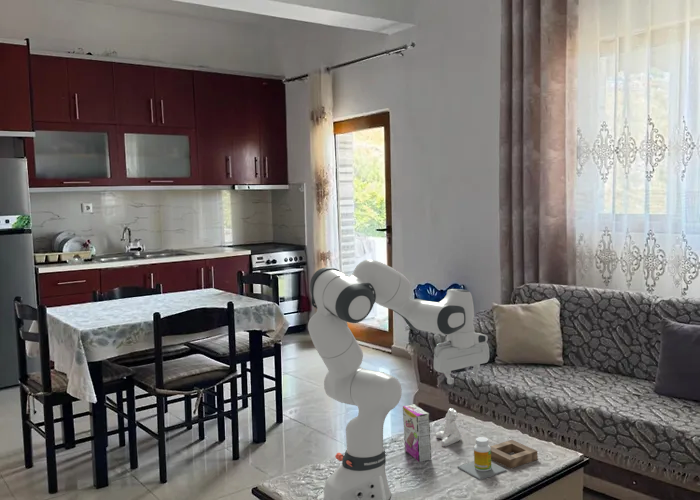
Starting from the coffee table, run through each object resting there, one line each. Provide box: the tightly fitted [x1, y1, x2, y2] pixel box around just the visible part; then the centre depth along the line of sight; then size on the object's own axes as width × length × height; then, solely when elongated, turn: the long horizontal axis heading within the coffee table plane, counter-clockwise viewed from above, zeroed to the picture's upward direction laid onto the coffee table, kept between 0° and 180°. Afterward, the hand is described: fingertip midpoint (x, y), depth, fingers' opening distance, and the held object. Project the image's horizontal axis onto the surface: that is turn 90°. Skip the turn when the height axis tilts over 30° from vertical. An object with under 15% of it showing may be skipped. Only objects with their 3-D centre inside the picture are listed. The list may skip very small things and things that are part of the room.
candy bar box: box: [402, 403, 432, 463], centre depth 227 cm, size 11×5×16 cm, turn 22°
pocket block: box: [489, 439, 539, 470], centre depth 222 cm, size 12×12×3 cm
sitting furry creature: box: [435, 407, 463, 447], centre depth 239 cm, size 10×9×12 cm
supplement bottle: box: [473, 436, 492, 471], centre depth 214 cm, size 5×5×10 cm
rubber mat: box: [457, 460, 508, 481], centre depth 215 cm, size 11×11×1 cm
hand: (462, 380), depth 213 cm, fingers open, 8 cm apart
